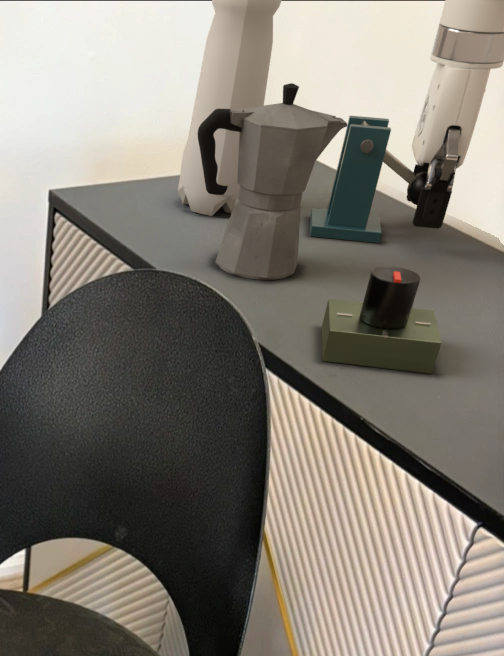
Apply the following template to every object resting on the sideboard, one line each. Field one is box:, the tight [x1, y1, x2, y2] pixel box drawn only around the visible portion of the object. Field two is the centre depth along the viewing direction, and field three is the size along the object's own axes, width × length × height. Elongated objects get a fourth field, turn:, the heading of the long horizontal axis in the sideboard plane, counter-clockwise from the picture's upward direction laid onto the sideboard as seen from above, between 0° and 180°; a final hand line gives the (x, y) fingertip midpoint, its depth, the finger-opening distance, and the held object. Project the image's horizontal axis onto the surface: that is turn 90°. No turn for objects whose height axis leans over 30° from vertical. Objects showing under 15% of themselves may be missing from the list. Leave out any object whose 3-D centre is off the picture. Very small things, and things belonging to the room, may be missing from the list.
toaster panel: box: [320, 298, 442, 375], centre depth 106 cm, size 10×9×3 cm
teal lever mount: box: [309, 115, 392, 244], centre depth 130 cm, size 8×7×12 cm
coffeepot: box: [197, 82, 348, 281], centre depth 118 cm, size 15×9×18 cm, turn 93°
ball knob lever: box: [361, 121, 435, 206], centre depth 128 cm, size 12×4×4 cm, turn 77°
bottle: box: [177, 0, 282, 217], centre depth 129 cm, size 9×9×30 cm
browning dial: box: [360, 265, 421, 329], centre depth 104 cm, size 4×4×4 cm
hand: (422, 213), depth 131 cm, fingers open, 9 cm apart
